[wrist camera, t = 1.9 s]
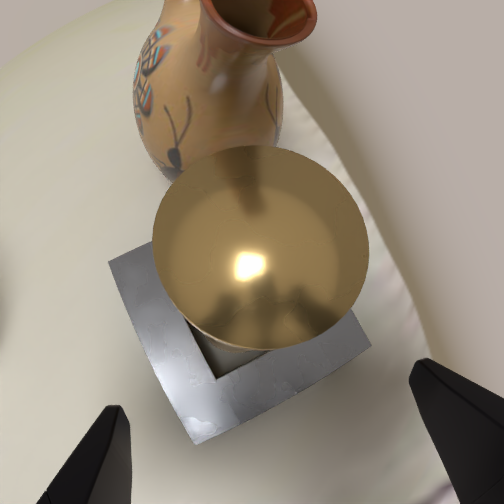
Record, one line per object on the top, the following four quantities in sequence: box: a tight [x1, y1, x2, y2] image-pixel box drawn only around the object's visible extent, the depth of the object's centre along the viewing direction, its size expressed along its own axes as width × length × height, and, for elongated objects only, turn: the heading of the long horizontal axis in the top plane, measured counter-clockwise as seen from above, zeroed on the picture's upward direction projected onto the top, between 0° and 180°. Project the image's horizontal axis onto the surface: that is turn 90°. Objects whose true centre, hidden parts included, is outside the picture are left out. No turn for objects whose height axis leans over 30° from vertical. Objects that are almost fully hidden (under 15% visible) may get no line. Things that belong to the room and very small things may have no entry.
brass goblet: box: [152, 145, 369, 353], centre depth 15 cm, size 6×6×13 cm
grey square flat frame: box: [108, 241, 372, 445], centre depth 20 cm, size 12×12×2 cm
